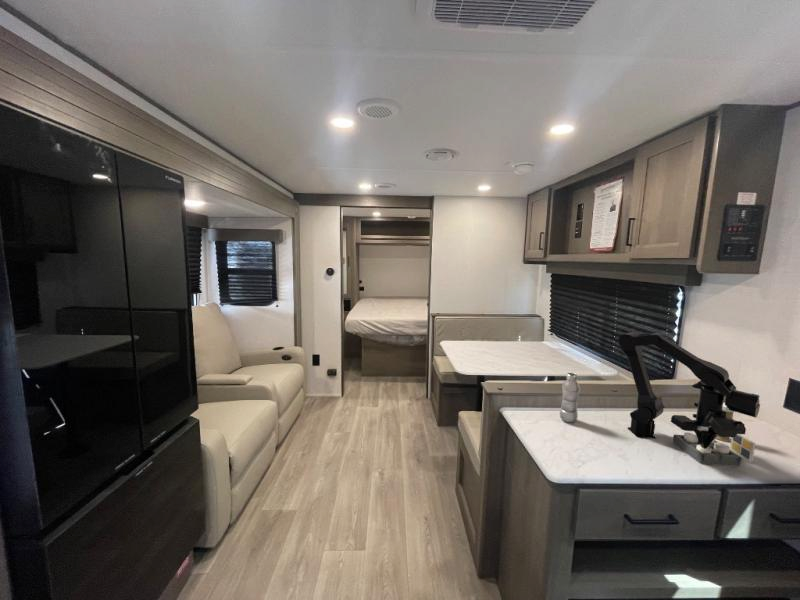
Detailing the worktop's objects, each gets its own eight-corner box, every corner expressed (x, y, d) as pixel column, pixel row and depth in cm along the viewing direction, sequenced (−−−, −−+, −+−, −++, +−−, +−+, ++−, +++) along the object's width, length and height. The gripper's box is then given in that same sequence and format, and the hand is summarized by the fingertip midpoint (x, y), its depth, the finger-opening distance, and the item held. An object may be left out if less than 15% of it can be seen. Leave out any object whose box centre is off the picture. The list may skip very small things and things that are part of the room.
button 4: (720, 455, 102) (721, 448, 102) (710, 448, 106) (711, 442, 105) (732, 455, 102) (733, 449, 101) (721, 449, 105) (722, 442, 105)
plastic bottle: (555, 417, 130) (559, 372, 128) (568, 415, 132) (571, 370, 130) (568, 425, 124) (571, 378, 122) (581, 423, 126) (585, 376, 124)
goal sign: (749, 462, 102) (753, 443, 101) (729, 449, 109) (732, 431, 108) (752, 462, 102) (755, 443, 101) (731, 449, 109) (734, 431, 108)
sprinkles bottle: (730, 439, 116) (736, 405, 114) (727, 443, 113) (733, 408, 111) (713, 433, 119) (718, 400, 118) (710, 437, 117) (715, 403, 115)
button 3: (705, 445, 107) (706, 438, 107) (696, 439, 111) (697, 433, 111) (717, 446, 107) (718, 439, 107) (707, 440, 111) (708, 433, 110)
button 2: (701, 457, 103) (702, 450, 102) (692, 450, 106) (693, 444, 106) (713, 458, 102) (714, 451, 102) (704, 451, 106) (705, 445, 106)
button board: (700, 463, 102) (701, 454, 101) (672, 442, 113) (673, 434, 113) (739, 466, 100) (741, 457, 100) (707, 444, 112) (708, 436, 112)
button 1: (688, 444, 108) (689, 437, 108) (680, 438, 111) (681, 432, 111) (700, 445, 108) (701, 438, 107) (691, 439, 111) (692, 432, 111)
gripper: (700, 414, 95) (693, 461, 97) (767, 418, 93) (759, 465, 95) (672, 398, 106) (666, 440, 108) (732, 401, 104) (725, 444, 106)
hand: (703, 447), depth 104 cm, fingers closed, pressing on button 2
